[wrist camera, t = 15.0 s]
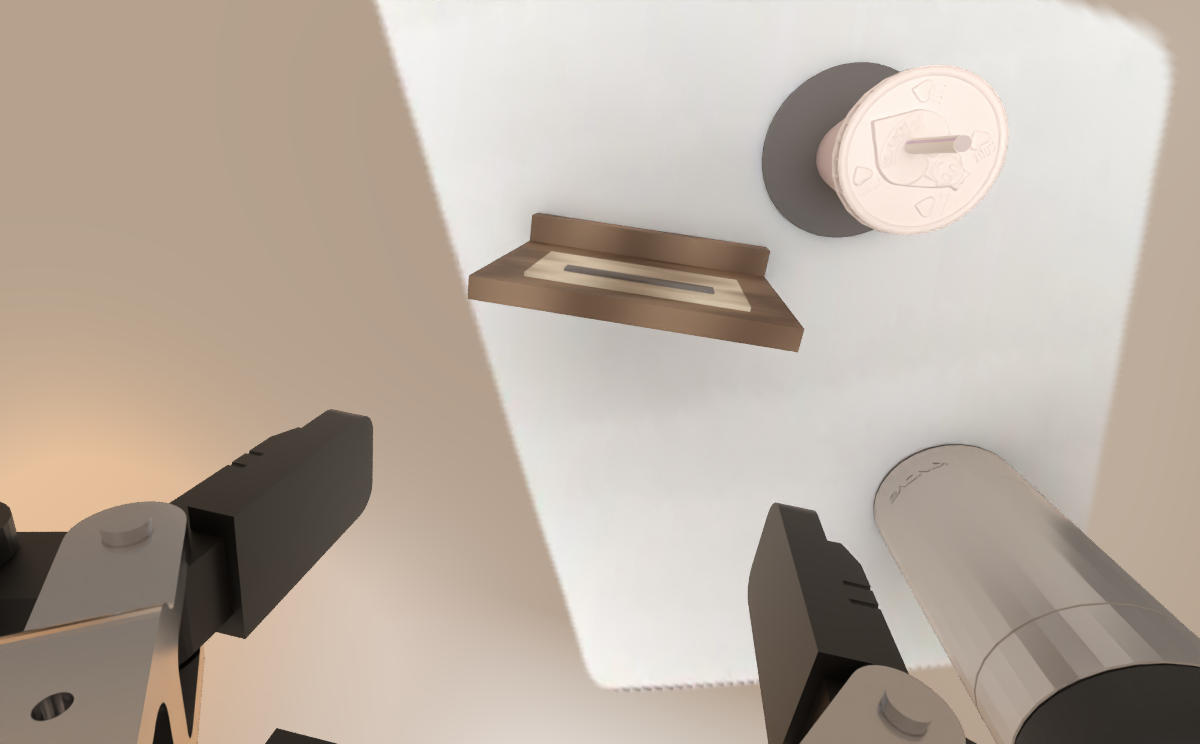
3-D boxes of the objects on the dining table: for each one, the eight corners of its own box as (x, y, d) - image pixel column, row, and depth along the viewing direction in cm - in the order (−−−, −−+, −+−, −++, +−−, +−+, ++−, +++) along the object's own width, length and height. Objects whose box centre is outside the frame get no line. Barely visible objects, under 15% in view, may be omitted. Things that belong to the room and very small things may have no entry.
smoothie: (841, 66, 30) (969, -5, 17) (939, 132, 31) (1138, 112, 18) (767, 177, 32) (831, 189, 19) (860, 236, 33) (983, 288, 20)
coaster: (967, 147, 31) (971, 147, 31) (834, 268, 34) (837, 269, 34) (856, 23, 30) (859, 21, 29) (728, 160, 33) (729, 160, 32)
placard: (766, 247, 34) (814, 293, 23) (750, 311, 36) (788, 385, 24) (537, 212, 35) (470, 239, 23) (532, 276, 36) (466, 332, 25)
